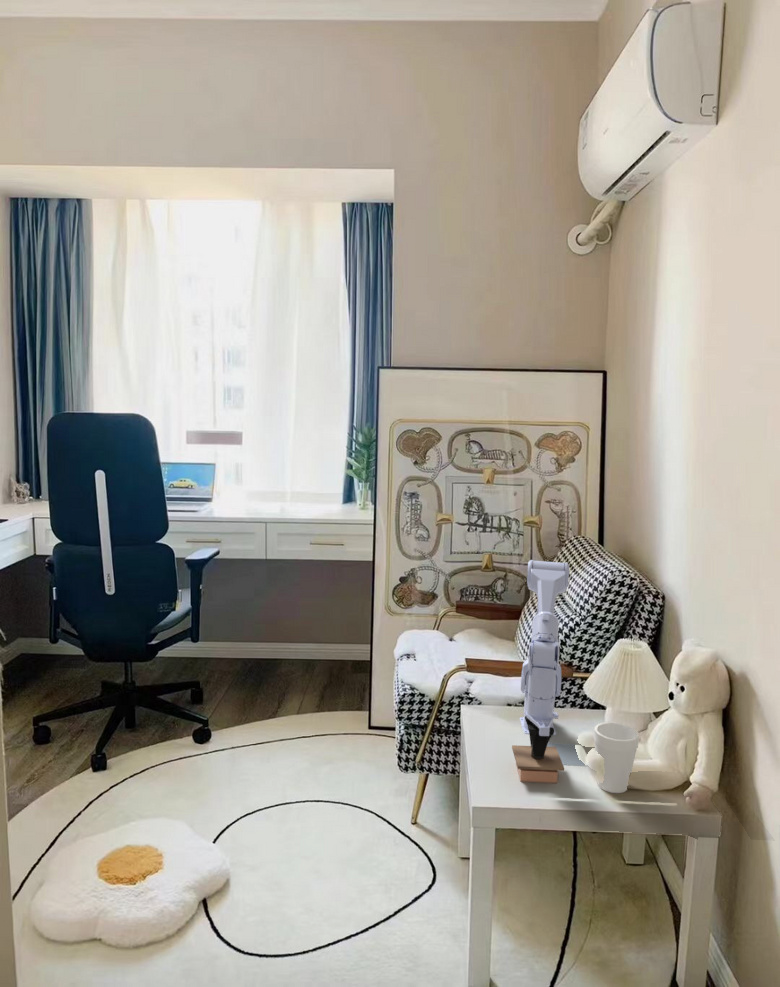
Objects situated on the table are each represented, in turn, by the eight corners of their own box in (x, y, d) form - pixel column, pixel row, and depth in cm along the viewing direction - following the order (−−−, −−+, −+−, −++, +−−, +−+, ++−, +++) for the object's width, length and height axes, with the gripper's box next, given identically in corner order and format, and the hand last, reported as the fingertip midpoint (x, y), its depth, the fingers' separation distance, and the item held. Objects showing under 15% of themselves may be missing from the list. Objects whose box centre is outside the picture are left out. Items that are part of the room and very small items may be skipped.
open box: (515, 765, 188) (516, 753, 187) (550, 767, 188) (551, 755, 187) (520, 783, 180) (521, 770, 179) (556, 785, 180) (557, 772, 179)
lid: (511, 747, 188) (513, 728, 187) (555, 749, 188) (556, 730, 187) (517, 768, 178) (519, 749, 178) (564, 770, 178) (565, 750, 177)
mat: (536, 744, 199) (537, 742, 199) (582, 746, 199) (582, 744, 199) (543, 766, 188) (544, 764, 188) (592, 768, 188) (592, 766, 188)
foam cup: (639, 784, 181) (644, 729, 179) (628, 803, 173) (633, 745, 171) (596, 773, 186) (601, 718, 184) (584, 790, 178) (588, 733, 176)
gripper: (565, 708, 173) (561, 769, 176) (553, 682, 188) (550, 738, 190) (531, 707, 174) (528, 767, 176) (522, 681, 188) (519, 737, 190)
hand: (537, 752), depth 183 cm, fingers open, 3 cm apart
